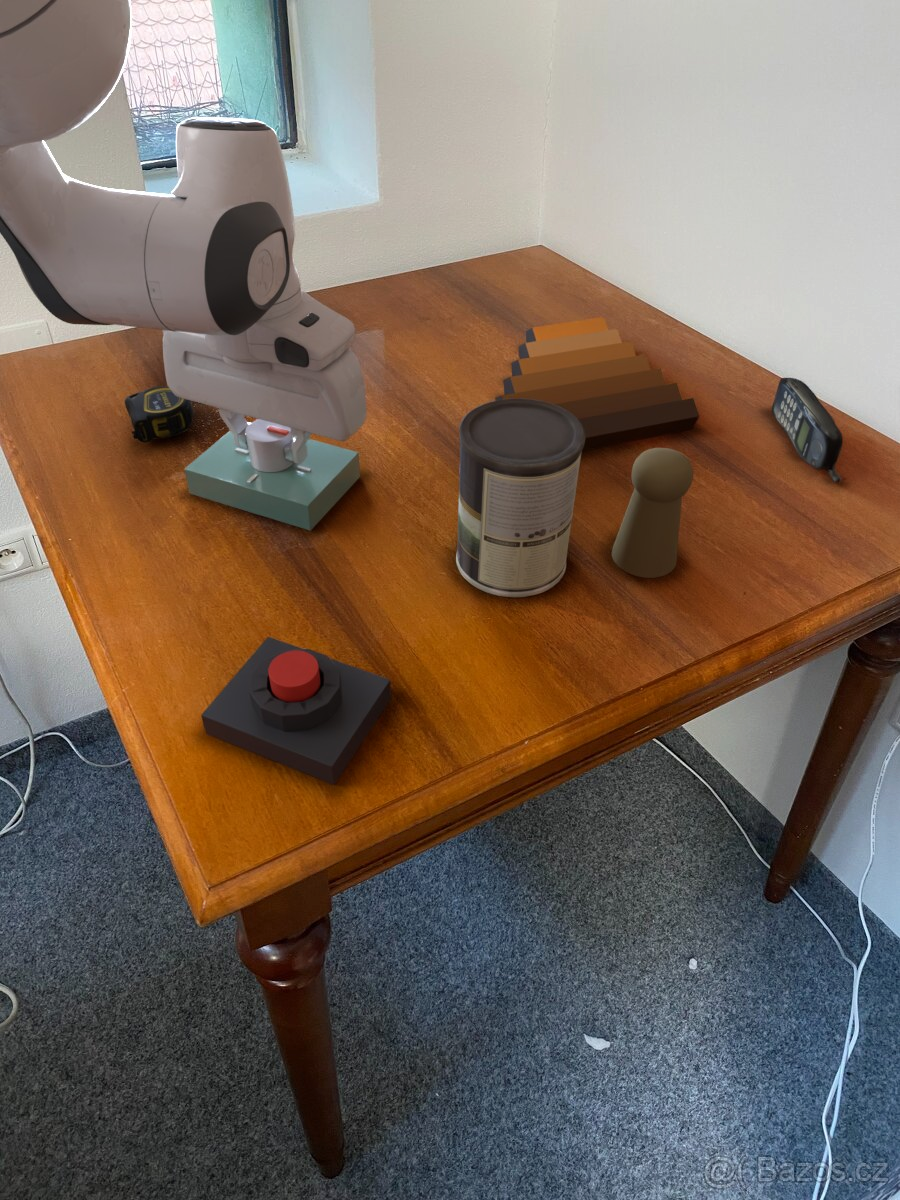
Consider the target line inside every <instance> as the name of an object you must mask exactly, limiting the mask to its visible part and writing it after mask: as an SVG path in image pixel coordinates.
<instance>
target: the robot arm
mask: <svg viewBox="0 0 900 1200" xmlns="http://www.w3.org/2000/svg"><path fill="white" fill-rule="evenodd" d="M132 14H133V13H132V6H131V0H0V236H2V238H3V239H4V240H5V242H6V244H7V245H8V246H9V248H10V250H11V251H12V253H13V254H14V257H15V259H16V261H17V263H18V266H19V268H20V271H21V273H22V275H23V277H24V279H25V281H26V283H27V285H28V287H29V288H30V290H31V292H32V293H33V295H34V296H35V297H36V298H37V299H38V301H39V302H40V303H41V304H42V306H43V307H44V308H45V309H46V310H47V311H48V312H49V313H50V314H51V315H53V316H54V317H55V318H56V319H58V320H59V321H62V322H63V323H66V324H70V325H84V326H85V325H89V326H113V325H114V326H123V327H131V328H132V327H133V328H139V329H140V328H141V329H148V330H158V331H162V334H163V337H162V357H163V367H164V368H163V369H164V374H165V375H164V376H165V379H166V386H168V387H169V388H170V389H171V391H172V392H173V393H174V394H175V396H177V397H179V398H183V399H187V400H190V401H191V402H194V403H198V404H202V405H205V406H209V407H212V408H216V409H218V412H219V417H220V418H221V419H222V421H223V423H225V425H226V427H227V428H228V429H229V431H230V430H231V432H232V433H233V435H234V441H235V446H236V447H240V448H243V449H247V450H248V445H247V439H246V433H245V431H246V428H247V426H248V423H247V422H248V421H247V420H246V417H249V418H250V417H251V418H254V419H256V420H259V419H261V420H265V421H268V422H272V423H276V424H279V425H283V426H287V427H290V429H291V434H292V435H293V436H296V435H297V437H296V439H295V438H293V439H292V440H291V441H290V443H288V444H286V445H285V446H284V453H285V454H286V456H285V459H286V460H287V461H290V462H293V463H296V464H301V463H302V462H303V461H304V460H305V459H306V458H307V445H306V442H307V441H308V440H309V439H311V436H312V435H317V436H321V437H324V438H328V439H331V440H335V441H338V442H345V441H347V440H349V439H350V438H351V437H353V436H354V435H355V434H356V433H357V432H358V431H359V430H360V429H361V427H363V425H364V424H365V422H366V420H367V413H368V412H367V411H368V408H367V406H368V405H367V395H366V385H365V379H364V373H363V369H362V365H361V363H360V360H359V358H358V356H357V355H356V354H355V352H354V351H353V350H352V349H350V347H351V346H352V344H353V343H354V342H355V340H356V327H355V325H354V323H353V321H351V320H350V319H348V317H345V316H344V315H342V314H340V313H338V312H337V311H335V310H333V309H331V308H330V307H328V306H327V305H325V304H323V303H321V302H320V301H318V300H317V299H316V298H314V297H312V296H311V295H310V294H308V293H307V292H305V291H304V290H302V286H301V277H300V275H299V272H298V270H297V267H296V265H295V261H294V245H295V240H296V225H295V216H294V207H293V199H292V194H291V188H290V182H289V177H288V172H287V166H286V163H285V157H284V155H283V151H282V148H281V144H280V141H279V137H278V134H277V133H276V130H274V128H272V127H270V126H269V125H268V124H266V123H265V122H263V121H260V120H257V119H252V118H243V117H231V116H230V117H229V116H210V115H206V116H205V115H204V116H193V117H189V118H186V119H184V120H183V121H181V122H180V123H178V124H177V126H176V129H175V130H176V131H175V153H176V154H175V155H176V169H177V180H178V182H177V184H176V186H175V187H174V189H173V190H172V191H171V192H170V193H171V194H170V193H169V194H168V193H157V192H146V191H137V190H126V189H116V188H108V187H102V186H98V185H93V184H89V183H86V182H83V181H80V180H77V179H74V178H72V177H70V176H68V175H66V174H65V173H63V172H62V170H61V168H60V166H59V165H58V163H57V161H56V159H55V158H54V156H53V154H52V152H51V151H50V149H49V147H48V144H47V143H46V142H45V141H49V140H53V139H56V138H59V137H61V136H64V135H66V134H68V133H70V132H72V131H74V130H75V129H77V128H78V127H79V126H81V125H83V124H84V123H85V122H86V121H88V119H90V118H91V117H92V116H94V114H95V113H96V112H97V111H98V110H99V109H100V108H101V106H103V104H104V103H105V102H106V101H107V99H108V98H109V97H110V95H111V93H113V91H114V90H115V87H117V86H116V85H117V84H118V82H119V80H120V78H121V76H122V74H123V72H124V69H125V66H126V62H127V60H128V59H127V58H128V55H129V51H130V47H131V38H132V25H133V24H132V23H133V21H132V20H133V19H132V18H133V15H132ZM245 416H246V417H245Z"/></svg>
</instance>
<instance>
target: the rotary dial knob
mask: <svg viewBox="0 0 900 1200" xmlns="http://www.w3.org/2000/svg"><path fill="white" fill-rule="evenodd" d="M250 423H251V424H249V425H248V426H247V428H246V431H245V433H246V439H247V445H248V451H249V457H250V463H251V465H252V466H253V467H254V468H255V469H257V470H259V471H262V472H278V471H282V470H285V469H287V468H289V467H290V466H291V465H292V464H293V462H290V461H287V460H286V459H285V456H286V454H285V453H284V446H285V445H286V444H288V443H290V441H291V440H292V439H293V437H292V434H291V429H290V427H287V426H283V425H279V424H276V423H272V422H268V421H265V420H261V419H256V420H254V421H252V422H250Z"/></svg>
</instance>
